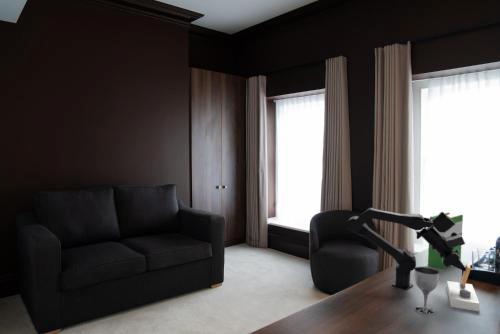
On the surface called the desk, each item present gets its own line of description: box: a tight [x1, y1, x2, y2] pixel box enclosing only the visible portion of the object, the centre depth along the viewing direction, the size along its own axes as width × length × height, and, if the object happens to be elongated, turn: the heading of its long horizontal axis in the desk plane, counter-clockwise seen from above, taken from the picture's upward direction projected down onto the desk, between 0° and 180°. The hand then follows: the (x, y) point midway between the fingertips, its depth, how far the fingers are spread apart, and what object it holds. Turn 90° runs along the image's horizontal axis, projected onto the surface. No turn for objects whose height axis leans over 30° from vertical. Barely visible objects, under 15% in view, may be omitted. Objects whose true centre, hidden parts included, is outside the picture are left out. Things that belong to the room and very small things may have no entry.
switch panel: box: [446, 280, 480, 312], centre depth 146 cm, size 9×19×3 cm, turn 157°
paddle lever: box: [459, 263, 471, 289], centre depth 149 cm, size 2×4×9 cm, turn 157°
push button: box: [460, 290, 471, 298], centre depth 141 cm, size 4×4×1 cm
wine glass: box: [414, 266, 440, 316], centre depth 135 cm, size 8×8×15 cm
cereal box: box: [427, 212, 464, 270], centre depth 186 cm, size 18×7×24 cm, turn 126°
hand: (465, 270), depth 149 cm, fingers closed, pressing on paddle lever
